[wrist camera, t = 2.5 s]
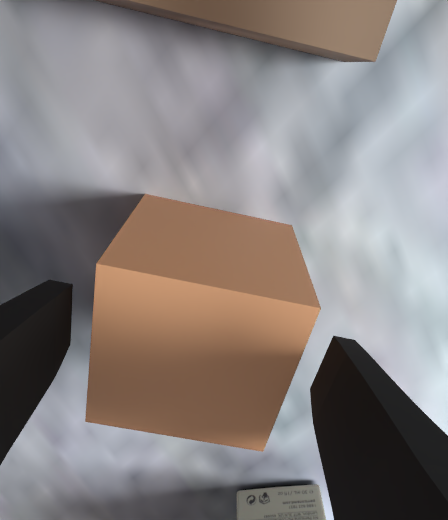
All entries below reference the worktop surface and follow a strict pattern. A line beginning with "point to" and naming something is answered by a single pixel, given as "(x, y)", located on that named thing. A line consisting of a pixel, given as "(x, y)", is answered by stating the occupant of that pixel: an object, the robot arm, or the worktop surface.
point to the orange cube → (198, 324)
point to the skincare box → (281, 503)
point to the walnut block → (286, 22)
